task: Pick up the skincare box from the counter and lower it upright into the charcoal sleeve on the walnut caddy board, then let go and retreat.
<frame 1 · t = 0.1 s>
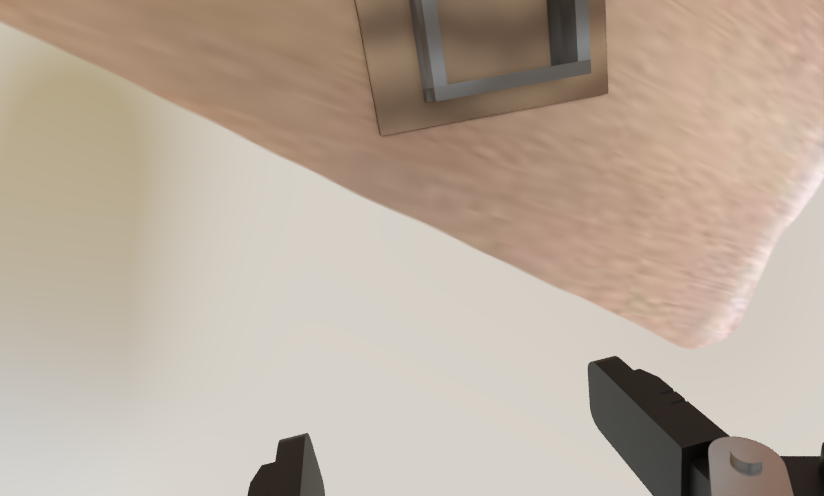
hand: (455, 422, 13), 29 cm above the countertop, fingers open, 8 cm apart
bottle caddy: (484, 25, 38), on the countertop
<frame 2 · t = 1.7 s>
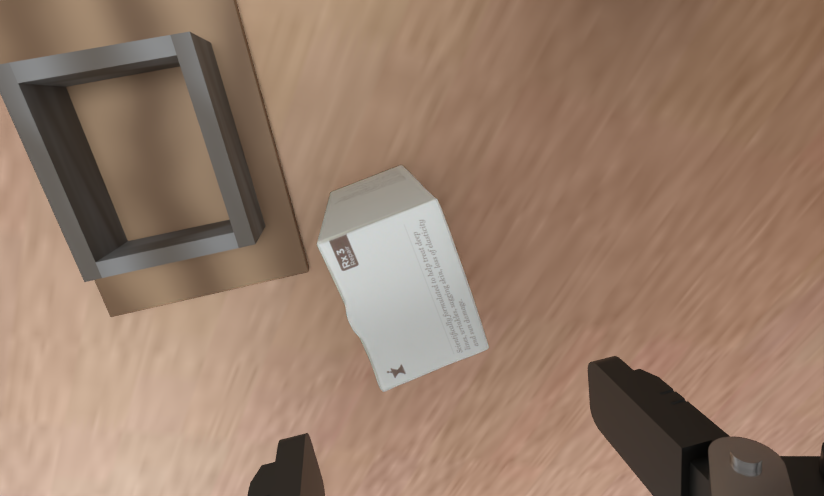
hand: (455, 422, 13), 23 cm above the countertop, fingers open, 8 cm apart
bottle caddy: (167, 154, 31), on the countertop
skincare box: (381, 224, 35), on the countertop
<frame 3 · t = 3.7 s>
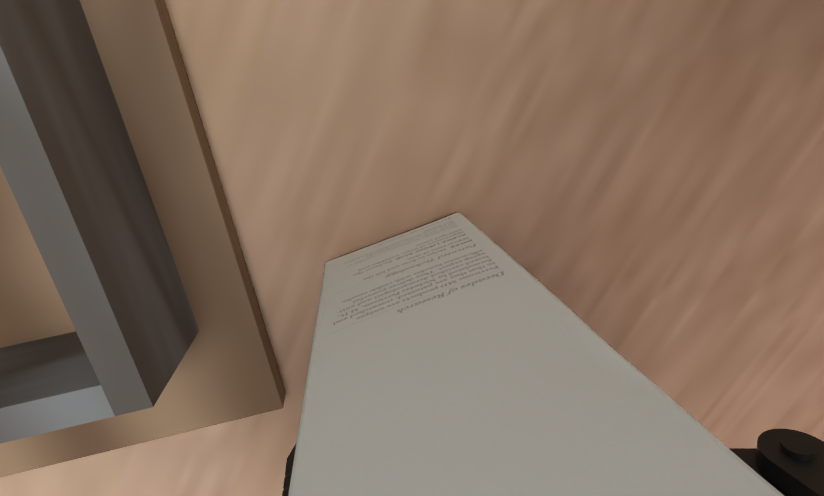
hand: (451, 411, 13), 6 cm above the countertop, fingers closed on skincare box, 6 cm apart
skincare box: (416, 315, 19), on the countertop, touching gripper
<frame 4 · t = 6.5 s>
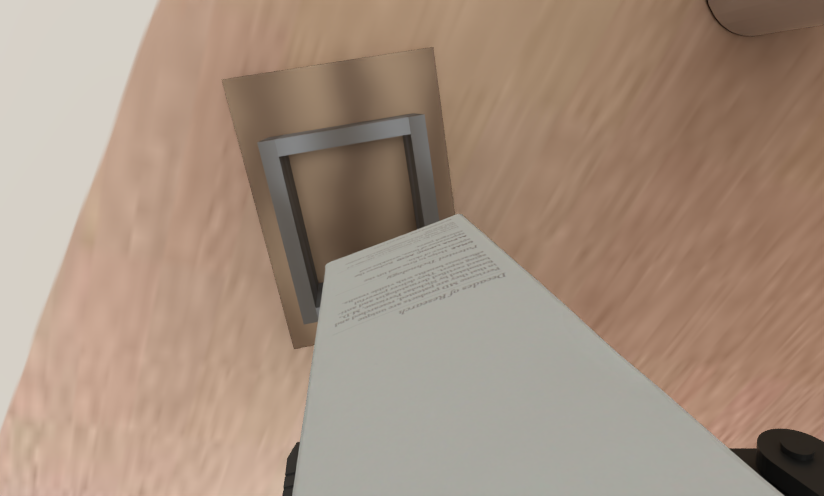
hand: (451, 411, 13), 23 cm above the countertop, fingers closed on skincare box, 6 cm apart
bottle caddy: (358, 206, 34), on the countertop
skincare box: (417, 316, 19), point 17 cm above the countertop, touching gripper
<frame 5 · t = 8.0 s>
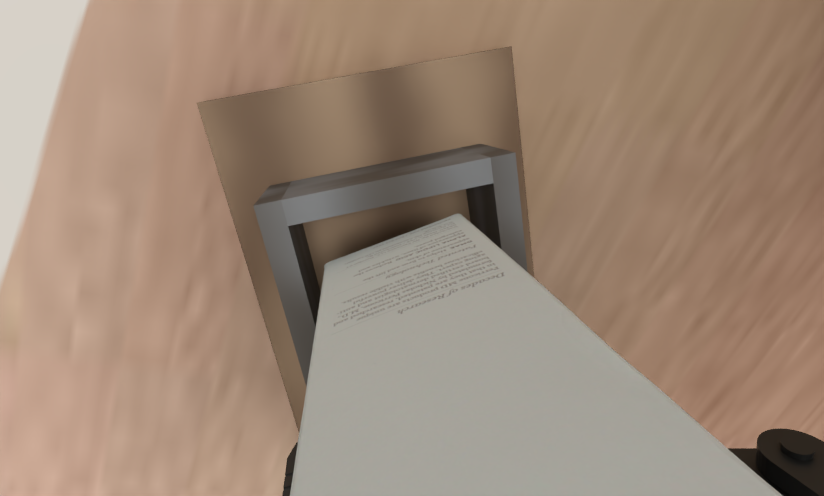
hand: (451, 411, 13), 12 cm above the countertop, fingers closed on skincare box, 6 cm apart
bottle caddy: (398, 274, 24), on the countertop
skincare box: (416, 316, 19), point 5 cm above the countertop, touching gripper
when the fingers open (9 cm above the countertop, at t = 9.1 s): skincare box drops 1 cm, resting on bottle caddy.
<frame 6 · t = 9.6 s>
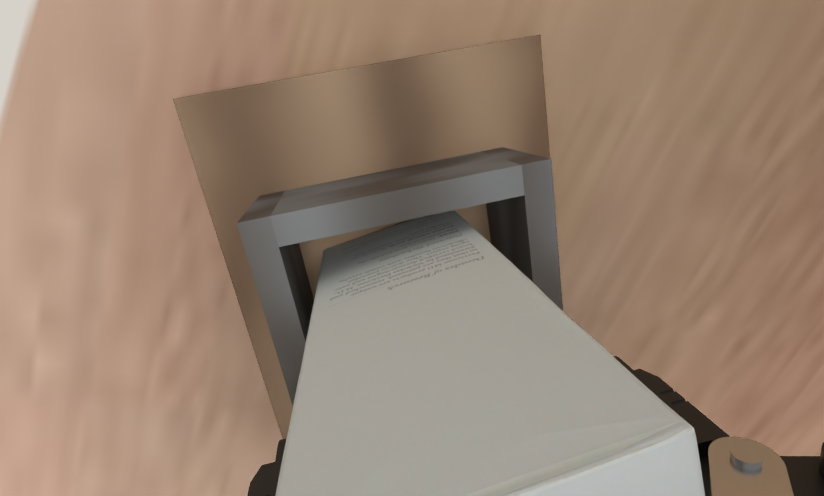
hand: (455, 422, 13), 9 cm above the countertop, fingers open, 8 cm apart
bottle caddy: (406, 295, 21), on the countertop
skincare box: (407, 302, 21), point 1 cm above the countertop, touching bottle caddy
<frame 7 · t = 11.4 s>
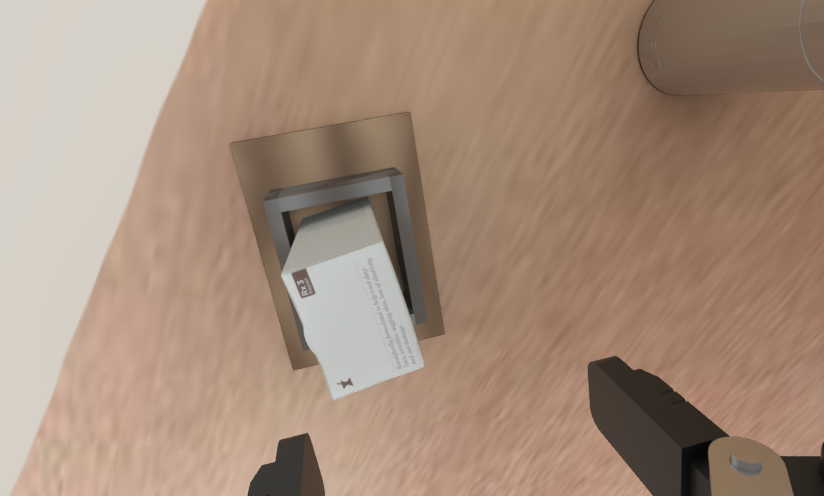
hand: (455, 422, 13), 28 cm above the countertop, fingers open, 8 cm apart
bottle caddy: (347, 245, 40), on the countertop
skincare box: (347, 248, 39), point 1 cm above the countertop, touching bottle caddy
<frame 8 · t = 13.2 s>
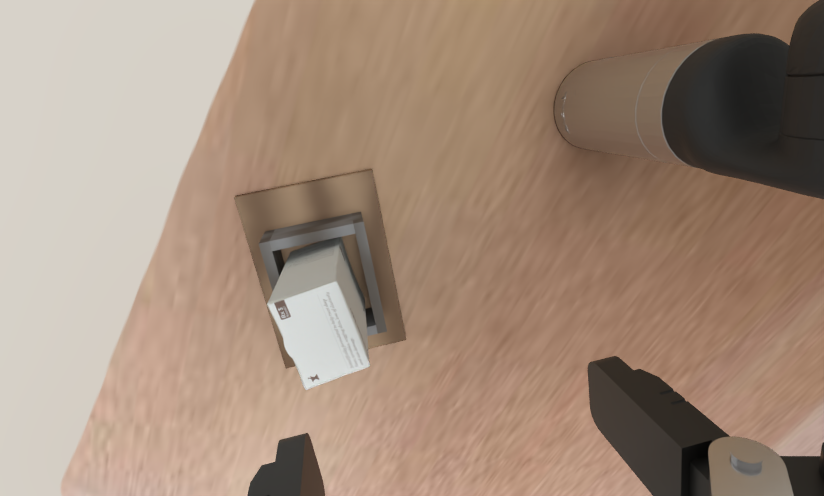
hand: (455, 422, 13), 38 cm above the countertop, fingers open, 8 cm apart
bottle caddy: (326, 271, 51), on the countertop
skincare box: (326, 273, 50), point 1 cm above the countertop, touching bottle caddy
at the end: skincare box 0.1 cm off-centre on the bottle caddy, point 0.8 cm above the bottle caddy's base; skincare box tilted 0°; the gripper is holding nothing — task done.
